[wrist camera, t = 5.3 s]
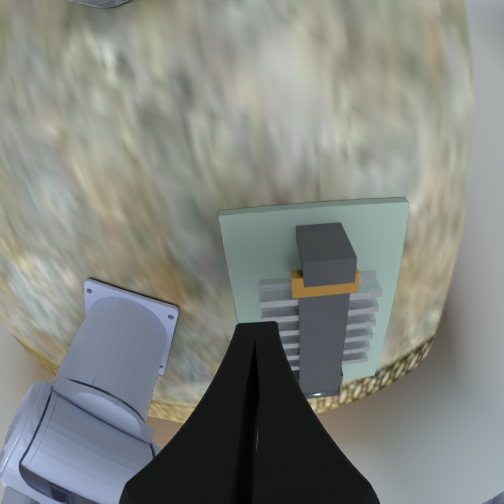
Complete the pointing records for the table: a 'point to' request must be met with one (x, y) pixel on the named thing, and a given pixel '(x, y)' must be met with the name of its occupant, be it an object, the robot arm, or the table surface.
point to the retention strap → (321, 334)
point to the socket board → (317, 254)
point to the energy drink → (100, 3)
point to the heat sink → (358, 323)
